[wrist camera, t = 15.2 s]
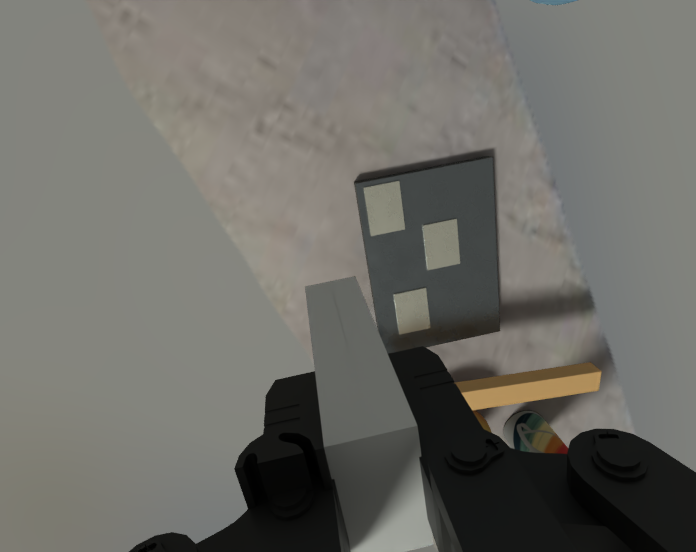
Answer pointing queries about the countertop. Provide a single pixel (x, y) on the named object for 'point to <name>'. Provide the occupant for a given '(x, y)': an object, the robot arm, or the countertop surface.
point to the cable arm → (530, 386)
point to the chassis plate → (431, 253)
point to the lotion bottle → (532, 434)
